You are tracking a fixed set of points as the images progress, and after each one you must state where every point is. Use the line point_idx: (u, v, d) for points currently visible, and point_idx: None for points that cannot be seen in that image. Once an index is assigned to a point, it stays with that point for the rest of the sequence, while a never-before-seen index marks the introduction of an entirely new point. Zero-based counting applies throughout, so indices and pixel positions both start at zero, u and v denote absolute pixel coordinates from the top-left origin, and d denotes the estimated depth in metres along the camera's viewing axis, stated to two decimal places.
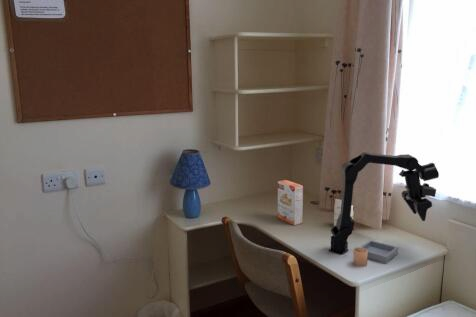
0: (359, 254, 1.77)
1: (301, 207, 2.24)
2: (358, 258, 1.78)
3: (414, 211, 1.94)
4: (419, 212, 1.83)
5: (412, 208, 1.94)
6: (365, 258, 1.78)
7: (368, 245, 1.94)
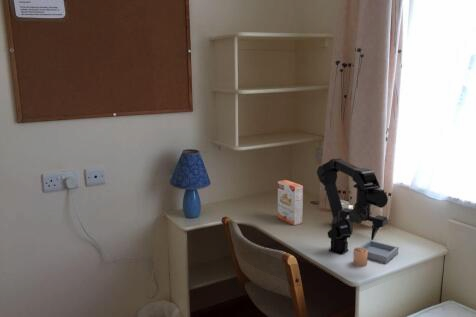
0: (359, 254, 1.77)
1: (301, 207, 2.24)
2: (358, 258, 1.78)
3: None
4: None
5: None
6: (365, 258, 1.78)
7: (368, 245, 1.94)
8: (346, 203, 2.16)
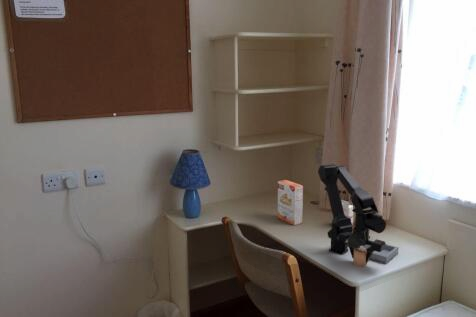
0: (359, 254, 1.77)
1: (301, 207, 2.24)
2: (358, 258, 1.78)
3: None
4: None
5: None
6: (365, 258, 1.78)
7: (368, 245, 1.94)
8: (346, 203, 2.16)
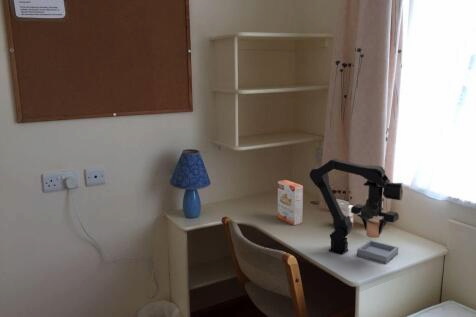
0: (372, 225, 1.80)
1: (301, 207, 2.24)
2: (371, 230, 1.81)
3: None
4: None
5: None
6: (378, 229, 1.81)
7: (368, 245, 1.94)
8: (346, 203, 2.16)
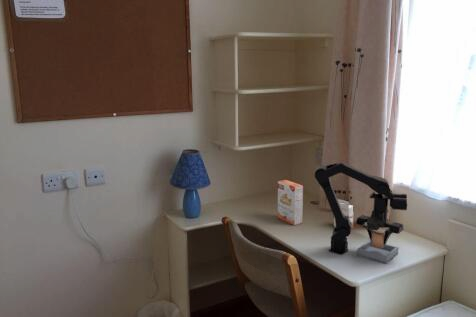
0: (377, 236, 1.85)
1: (301, 207, 2.24)
2: (376, 240, 1.85)
3: None
4: None
5: None
6: (383, 240, 1.85)
7: (368, 245, 1.94)
8: (346, 203, 2.16)
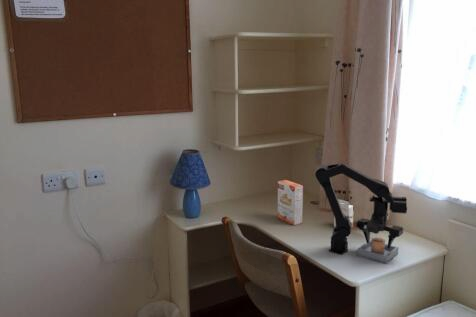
0: (377, 243, 1.85)
1: (301, 207, 2.24)
2: (376, 248, 1.86)
3: None
4: None
5: None
6: (383, 247, 1.86)
7: (368, 245, 1.94)
8: (346, 203, 2.16)
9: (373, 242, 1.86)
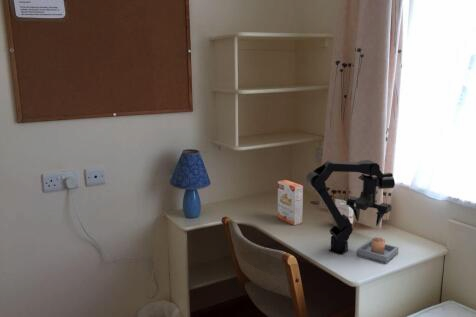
0: (377, 243, 1.85)
1: (301, 207, 2.24)
2: (376, 248, 1.86)
3: None
4: None
5: None
6: (383, 247, 1.86)
7: (368, 245, 1.94)
8: None
9: (373, 242, 1.86)
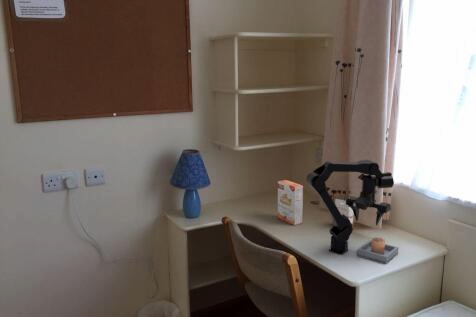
0: (377, 243, 1.85)
1: (301, 207, 2.24)
2: (376, 248, 1.86)
3: None
4: None
5: None
6: (383, 247, 1.86)
7: (368, 245, 1.94)
8: None
9: (373, 242, 1.86)
